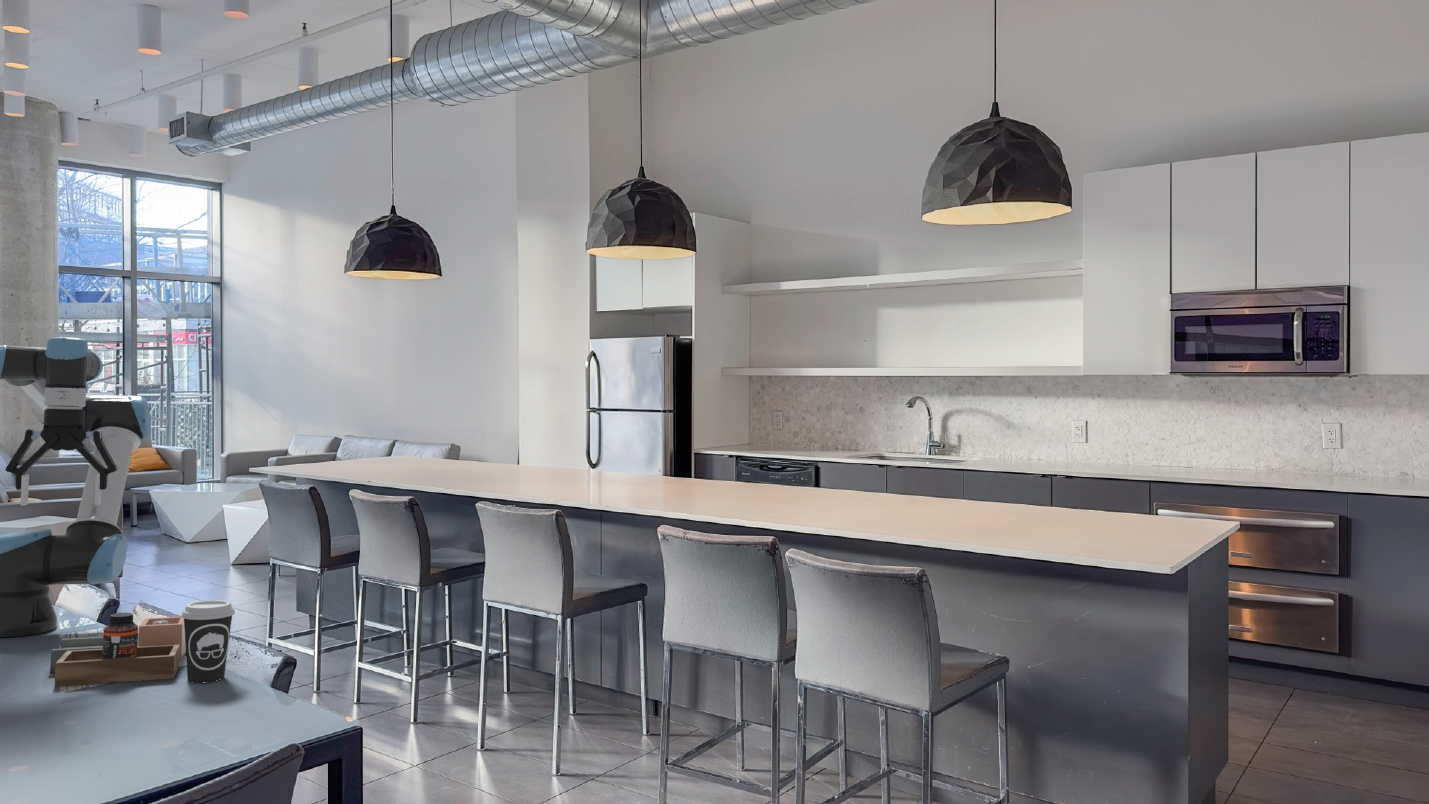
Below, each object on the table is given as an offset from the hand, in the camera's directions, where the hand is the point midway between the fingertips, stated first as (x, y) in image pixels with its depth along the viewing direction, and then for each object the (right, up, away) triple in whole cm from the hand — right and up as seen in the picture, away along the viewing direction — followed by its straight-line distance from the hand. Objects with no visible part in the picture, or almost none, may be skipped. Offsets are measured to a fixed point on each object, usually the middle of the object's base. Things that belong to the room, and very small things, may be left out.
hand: (61, 504), depth 211 cm
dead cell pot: (+25, -33, -4) cm, 41 cm away
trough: (+24, -32, -18) cm, 44 cm away
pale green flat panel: (+12, -30, -11) cm, 34 cm away
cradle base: (+12, -32, -11) cm, 36 cm away
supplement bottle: (+24, -32, -18) cm, 43 cm away
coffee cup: (+41, -33, -18) cm, 56 cm away
